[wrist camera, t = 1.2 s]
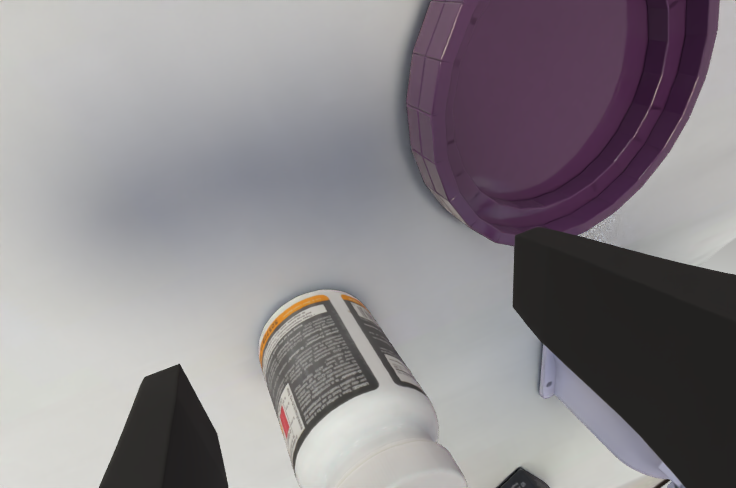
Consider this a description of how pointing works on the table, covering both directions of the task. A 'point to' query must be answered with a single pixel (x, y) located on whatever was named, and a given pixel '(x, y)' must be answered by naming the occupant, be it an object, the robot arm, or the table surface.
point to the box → (524, 481)
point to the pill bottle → (349, 400)
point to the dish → (551, 105)
